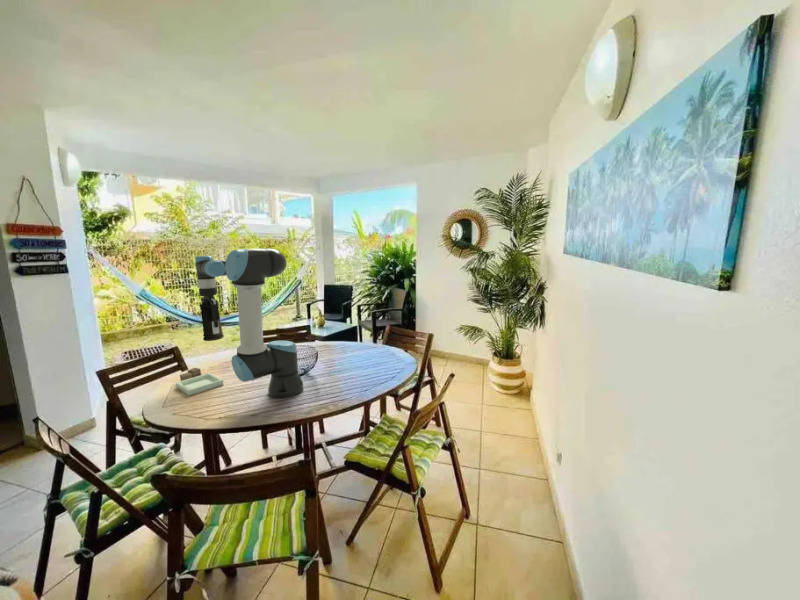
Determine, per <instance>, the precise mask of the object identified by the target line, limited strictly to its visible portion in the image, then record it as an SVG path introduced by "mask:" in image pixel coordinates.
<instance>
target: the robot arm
mask: <svg viewBox="0 0 800 600" xmlns="http://www.w3.org/2000/svg"><path fill="white" fill-rule="evenodd" d="M194 260H195V261H194V262H195V264H194V265H195V271H196V277H197V280H196V281H197V287H198V295H199V296H200V297H201V298H200V302H201V304H207V305H211V307H212V310H210V311H211V317H212V320H211V322H212V329H213V334H218V333H219V324H218V320H220V321H221V317H220V316H219V315H220V310H218V309H219V305H217V303H218V299H215V297H214V296H216V295H217V294H218V293H217V287H216V286H217V285H216V282H217V280H216V278H217V277H218V278H219V277H223V276H224V277H225V276H226V277H227V279H228V280H229V281H231V282H232V285H233V286H234V287H235V288H236V289H237V307H238V308H237V309H238V325H239V339H240V340H239V341H240V344H239V346H238V347H237V348H236V354H234V355H233V356H232V357H231V361H230V362H231V365H232V366H231V367H232V369H233V372H234V374H235V377H236V378H238V380H239V381H240V382H243V383H247V382H250V381H255V380H258V379H260V378H263V377H266V376H271V377H270V381H269V385H268V388H267V391H268V392H267V393H268V396H269V397H271V398H275V399H286V398H291V397H294V396H297V395H299V394H301V393H302V391H304V383H303V381H302V378H301V375H300V373H299V364H298V363H299V362H298V350H297V345H296V343H295V342H293V341H292V340H291V341H290V340H273V341H270V342H268V345H267V344H265V343H264V330H263V304H262V287H263V286H264V285H265V283H266V279H265V278H273V277H277V276H279V275H281V274H282V273H283V272H284V271H285V270H286V268H287V259H286V256H285V254H283V253H282V252H281V251H280V250H278V249H275V248H267V247H266V248H239V249H233V250H231V251H230V252H229V253H228V255H227V257H226V258H225V259H215V260H214V258H213V256H211V255H198V256H195V259H194Z"/></svg>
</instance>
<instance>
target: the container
mask: <svg viewBox="0 0 800 600" xmlns="http://www.w3.org/2000/svg"><path fill="white" fill-rule="evenodd" d="M217 305H218V306H219V305H220V304H219V302H217ZM199 308H200V314H201V315H200V316H201V322H202V323H201V324H202V331H203V335H202V337H203V338H202V339H203V341H205V342H213V341H218V340H221V339H223V338H224V337H225V335H224V332H223V328H222V323H221V319H220V320H218V324H219V333H218V334H213V329H212V322H211V320H212V317H211V311H210V310H212V307H211V305H207V304H202V303H200V304H199ZM219 309H220V308H218V310H219ZM219 311H220V310H219ZM219 316H220V314H219Z"/></svg>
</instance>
